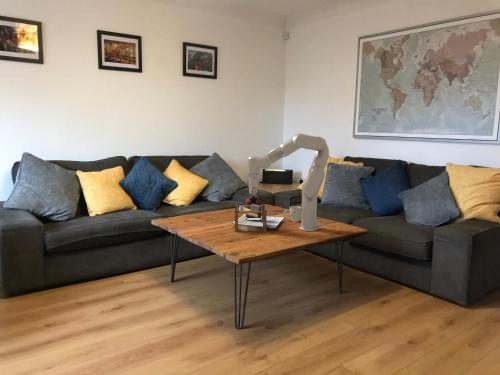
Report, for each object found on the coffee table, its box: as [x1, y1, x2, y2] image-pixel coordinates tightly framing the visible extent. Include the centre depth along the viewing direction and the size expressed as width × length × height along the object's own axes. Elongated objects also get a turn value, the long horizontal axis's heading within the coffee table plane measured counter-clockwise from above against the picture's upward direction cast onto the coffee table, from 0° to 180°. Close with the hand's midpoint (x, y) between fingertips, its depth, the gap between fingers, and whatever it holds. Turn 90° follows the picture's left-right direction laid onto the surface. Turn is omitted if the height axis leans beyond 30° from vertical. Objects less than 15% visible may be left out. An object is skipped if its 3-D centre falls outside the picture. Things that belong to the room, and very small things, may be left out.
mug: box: [283, 205, 302, 223], centre depth 292 cm, size 8×13×10 cm, turn 89°
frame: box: [234, 204, 268, 233], centre depth 273 cm, size 20×20×14 cm
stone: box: [250, 204, 260, 214], centre depth 273 cm, size 5×5×5 cm
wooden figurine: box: [244, 194, 262, 219], centre depth 294 cm, size 12×6×18 cm, turn 81°
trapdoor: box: [238, 206, 258, 217], centre depth 273 cm, size 12×14×2 cm
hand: (253, 202), depth 272 cm, fingers open, 7 cm apart
